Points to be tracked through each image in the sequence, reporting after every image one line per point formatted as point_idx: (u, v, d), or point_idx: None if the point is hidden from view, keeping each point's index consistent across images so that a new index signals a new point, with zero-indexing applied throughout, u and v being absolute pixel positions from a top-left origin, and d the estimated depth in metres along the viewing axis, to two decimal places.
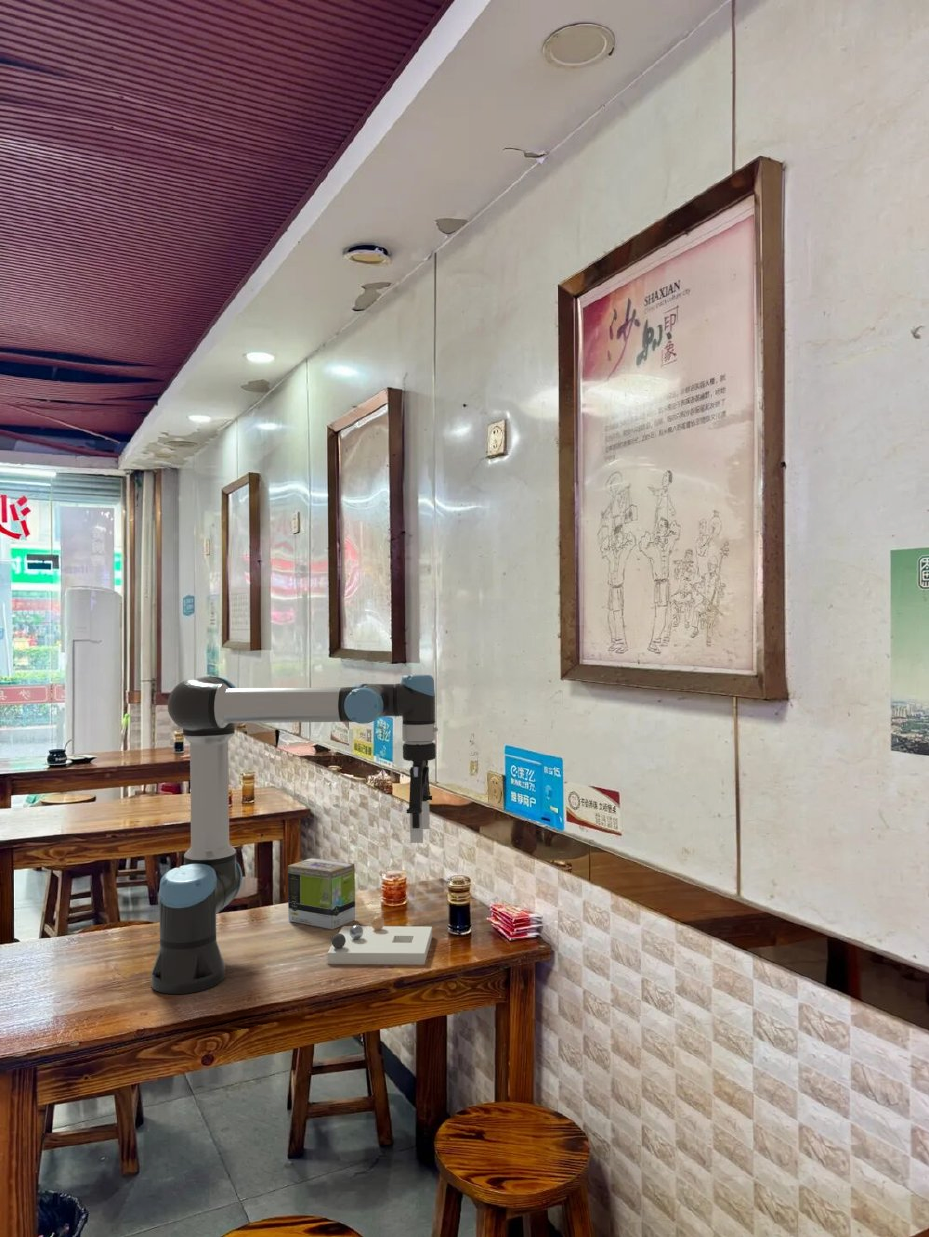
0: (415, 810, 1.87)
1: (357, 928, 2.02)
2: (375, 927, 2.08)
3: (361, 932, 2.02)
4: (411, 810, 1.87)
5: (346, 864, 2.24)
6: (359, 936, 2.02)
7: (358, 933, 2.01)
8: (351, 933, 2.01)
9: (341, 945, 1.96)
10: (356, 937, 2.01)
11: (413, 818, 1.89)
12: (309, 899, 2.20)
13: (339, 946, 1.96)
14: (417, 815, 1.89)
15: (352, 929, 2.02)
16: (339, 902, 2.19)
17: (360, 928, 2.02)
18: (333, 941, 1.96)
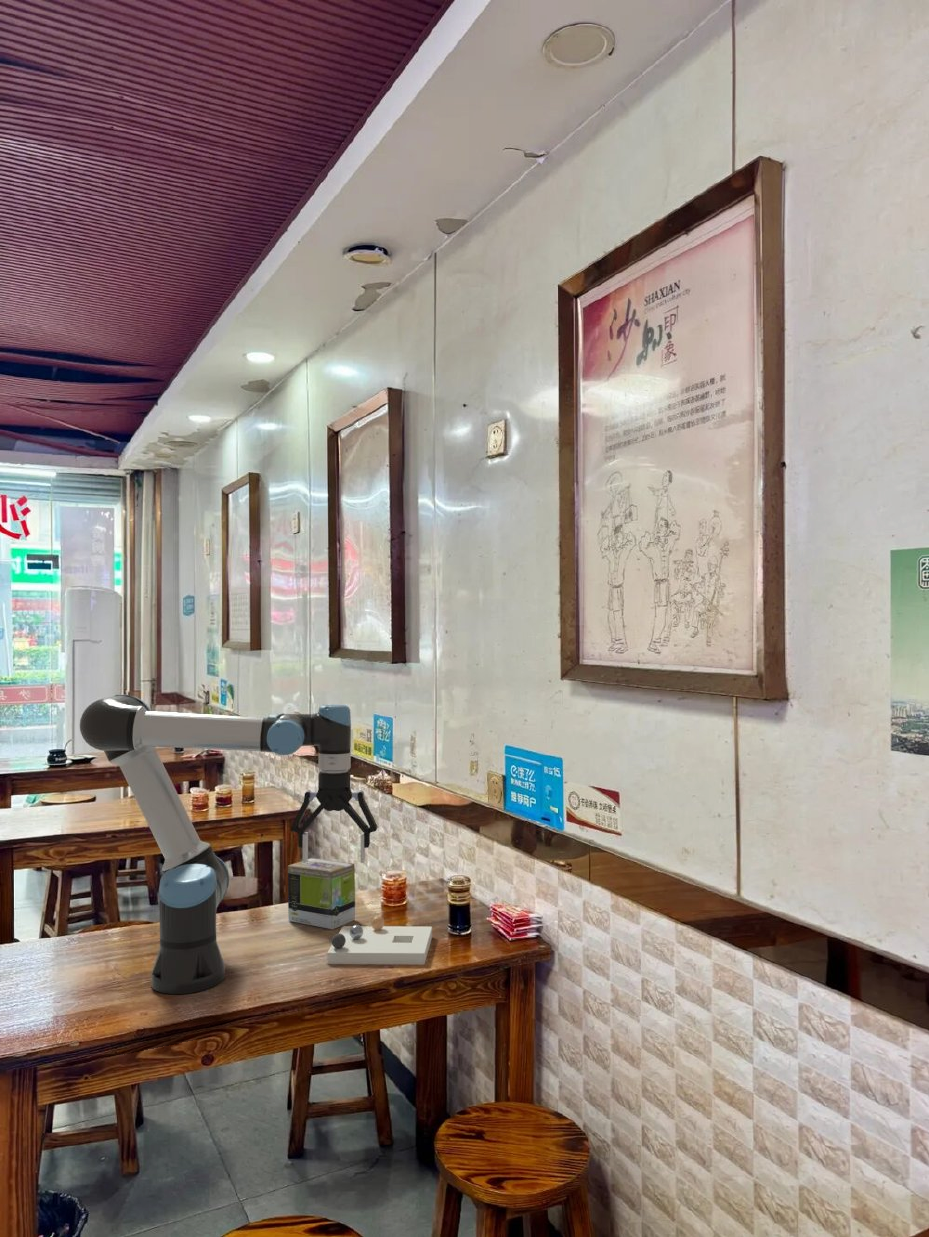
0: None
1: (357, 928, 2.02)
2: (375, 927, 2.08)
3: (361, 932, 2.02)
4: None
5: (346, 864, 2.24)
6: (359, 936, 2.02)
7: (358, 933, 2.01)
8: (351, 933, 2.01)
9: (341, 945, 1.96)
10: (356, 937, 2.01)
11: None
12: (309, 899, 2.20)
13: (339, 946, 1.96)
14: (298, 834, 2.03)
15: (352, 929, 2.02)
16: (339, 902, 2.19)
17: (360, 928, 2.02)
18: (333, 941, 1.96)
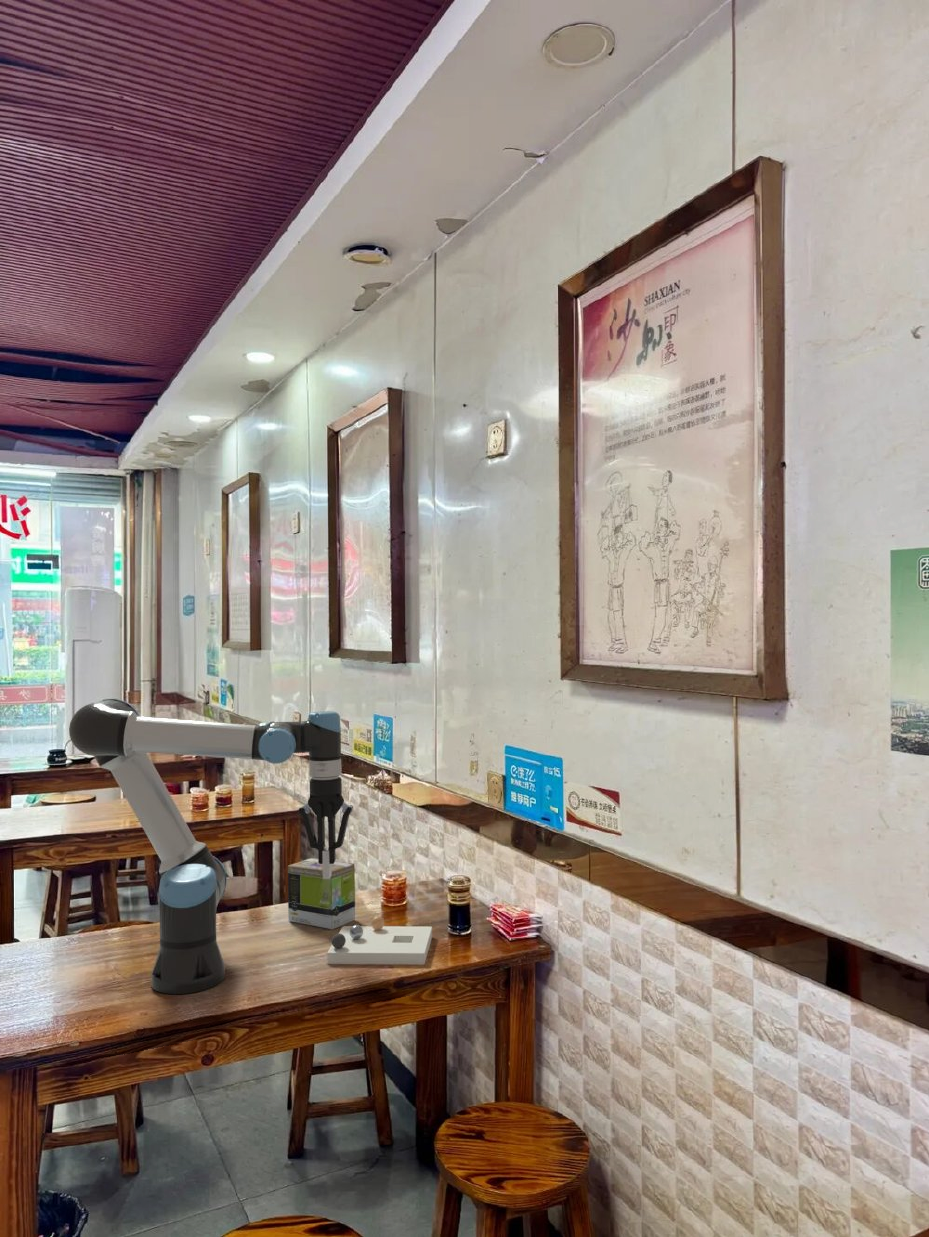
0: None
1: (357, 928, 2.02)
2: (375, 927, 2.08)
3: (361, 932, 2.02)
4: None
5: (346, 864, 2.24)
6: (359, 936, 2.02)
7: (358, 933, 2.01)
8: (351, 933, 2.01)
9: (341, 945, 1.96)
10: (356, 937, 2.01)
11: None
12: (309, 899, 2.20)
13: (339, 946, 1.96)
14: (318, 851, 2.03)
15: (352, 929, 2.02)
16: (339, 902, 2.19)
17: (360, 928, 2.02)
18: (333, 941, 1.96)
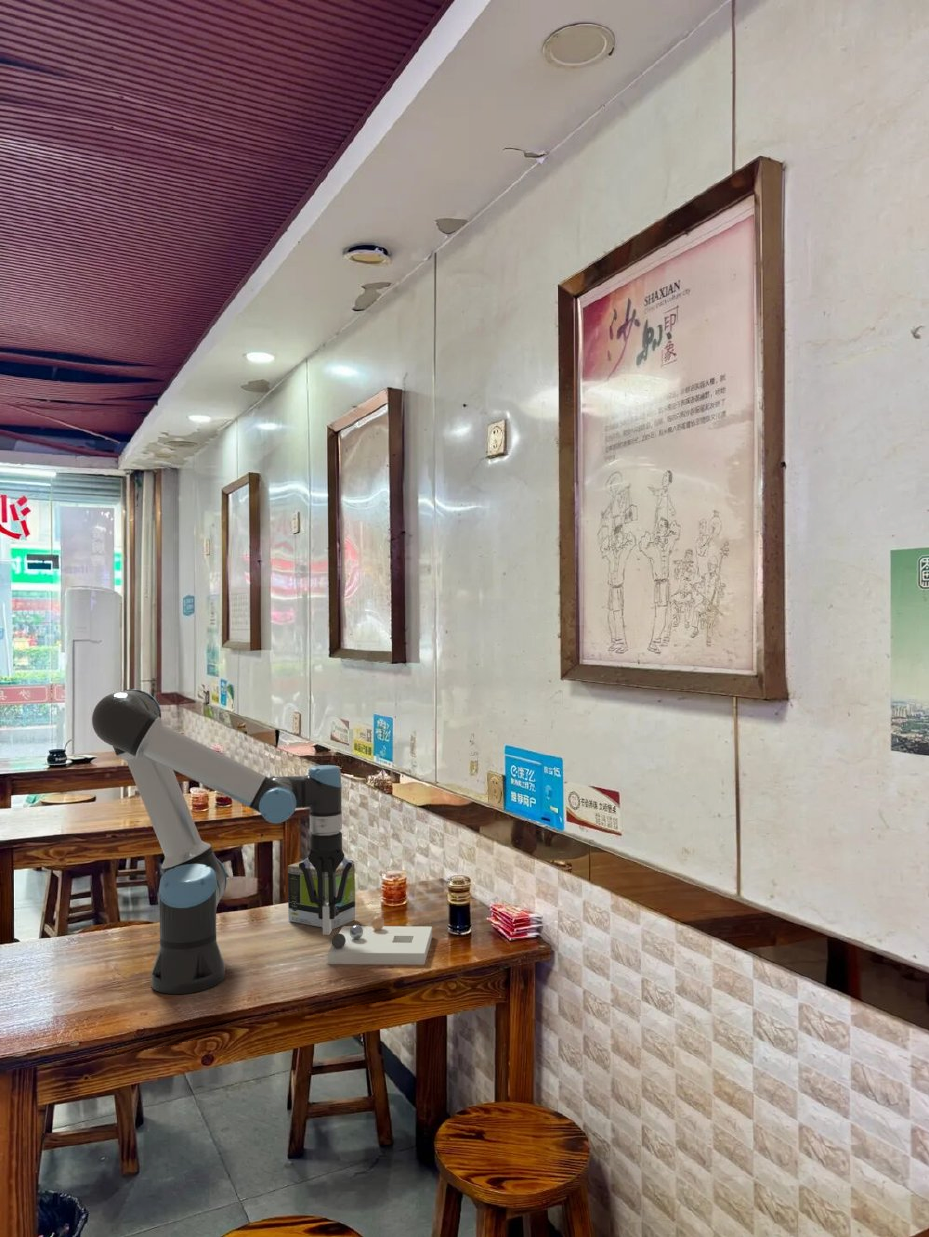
0: None
1: (357, 928, 2.02)
2: (375, 927, 2.08)
3: (361, 932, 2.02)
4: None
5: None
6: (359, 936, 2.02)
7: (358, 933, 2.01)
8: (351, 933, 2.01)
9: (341, 945, 1.96)
10: (356, 937, 2.01)
11: None
12: (309, 899, 2.20)
13: (339, 946, 1.96)
14: (318, 906, 2.03)
15: (352, 929, 2.02)
16: None
17: (360, 928, 2.02)
18: (333, 941, 1.96)
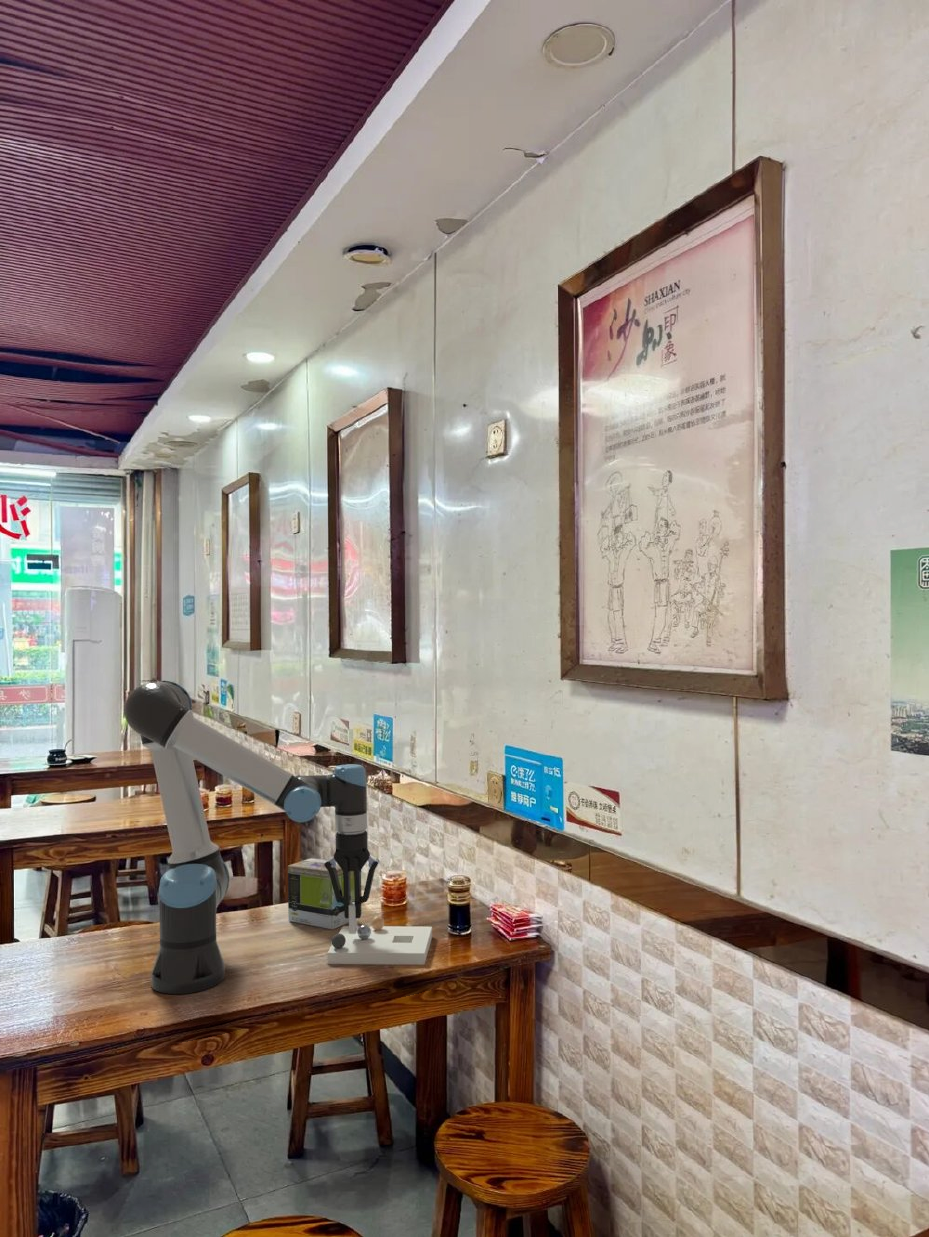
0: None
1: (368, 933, 2.01)
2: (375, 927, 2.08)
3: (366, 937, 2.02)
4: None
5: None
6: (362, 938, 2.01)
7: (365, 936, 2.01)
8: (361, 930, 2.01)
9: (341, 945, 1.96)
10: (360, 936, 2.01)
11: None
12: (309, 899, 2.20)
13: (339, 946, 1.96)
14: (344, 905, 2.03)
15: (365, 928, 2.02)
16: (339, 902, 2.19)
17: (369, 934, 2.02)
18: (333, 941, 1.96)
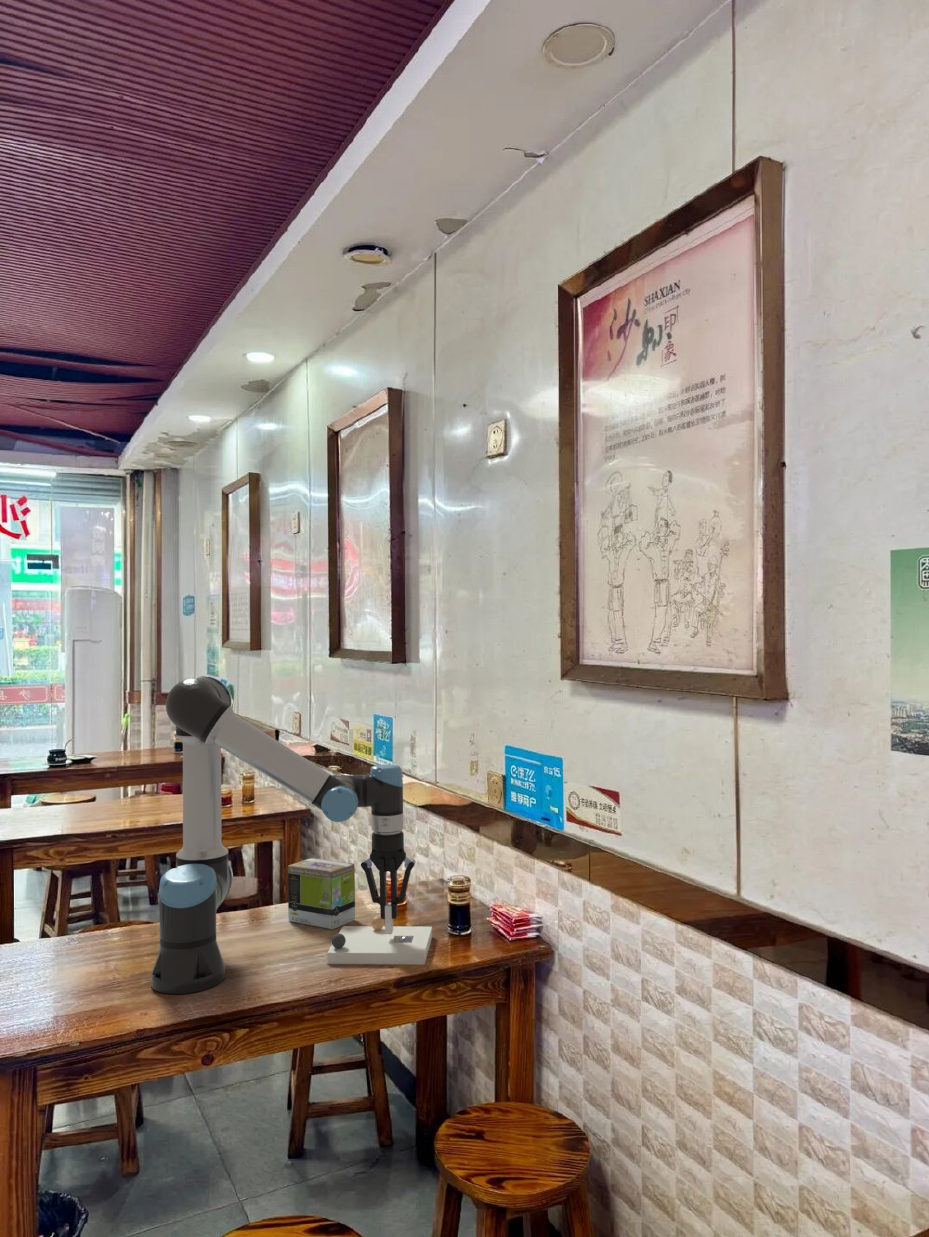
0: None
1: None
2: (375, 927, 2.08)
3: None
4: None
5: (346, 864, 2.24)
6: None
7: None
8: (405, 940, 2.01)
9: (341, 945, 1.96)
10: None
11: None
12: (309, 899, 2.20)
13: (339, 946, 1.96)
14: (380, 906, 2.02)
15: (409, 941, 2.01)
16: (339, 902, 2.19)
17: None
18: (333, 941, 1.96)
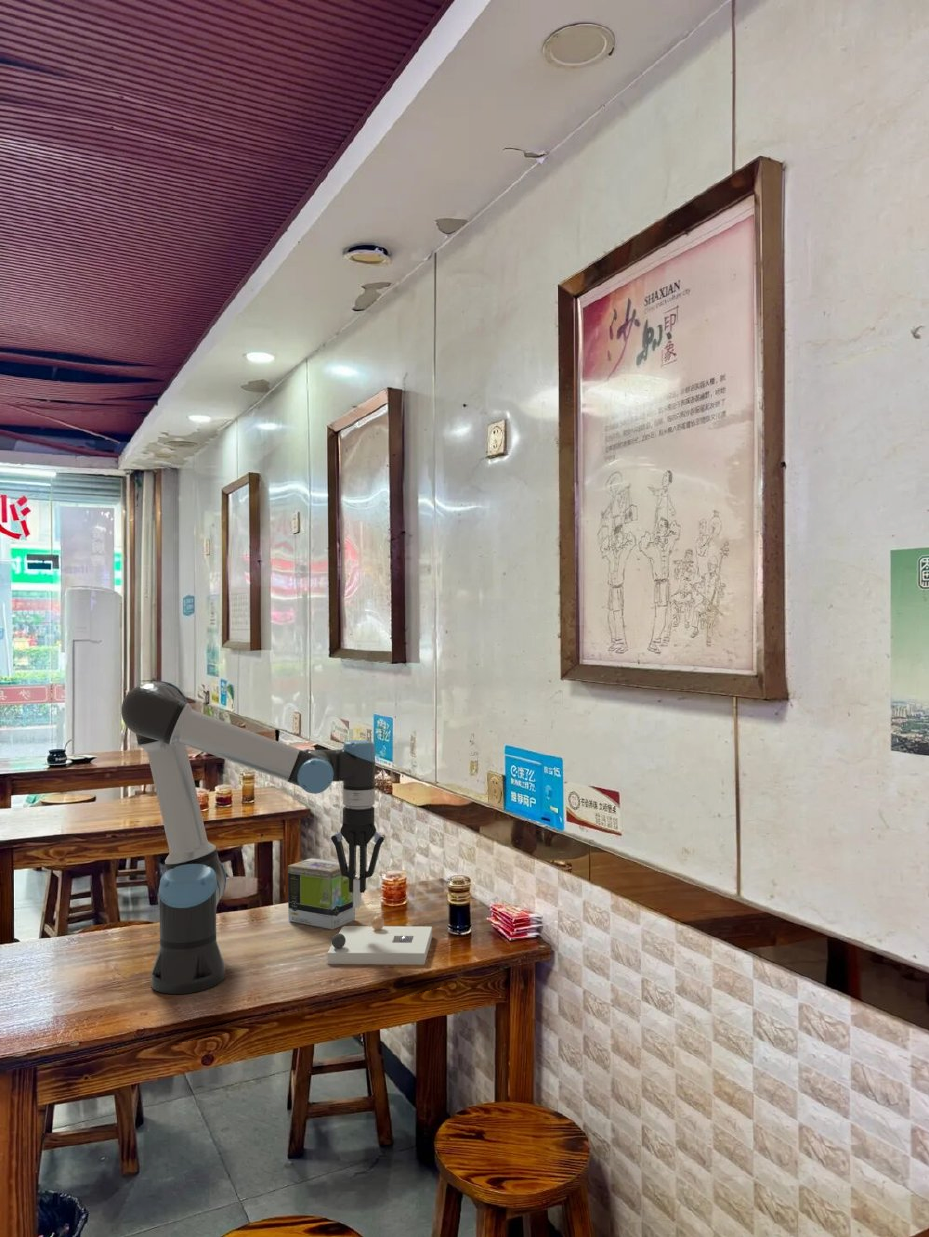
0: None
1: None
2: (375, 927, 2.08)
3: None
4: None
5: None
6: None
7: None
8: (405, 940, 2.01)
9: (341, 945, 1.96)
10: None
11: None
12: (309, 899, 2.20)
13: (339, 946, 1.96)
14: (349, 879, 2.04)
15: (409, 941, 2.01)
16: (339, 902, 2.19)
17: None
18: (333, 941, 1.96)
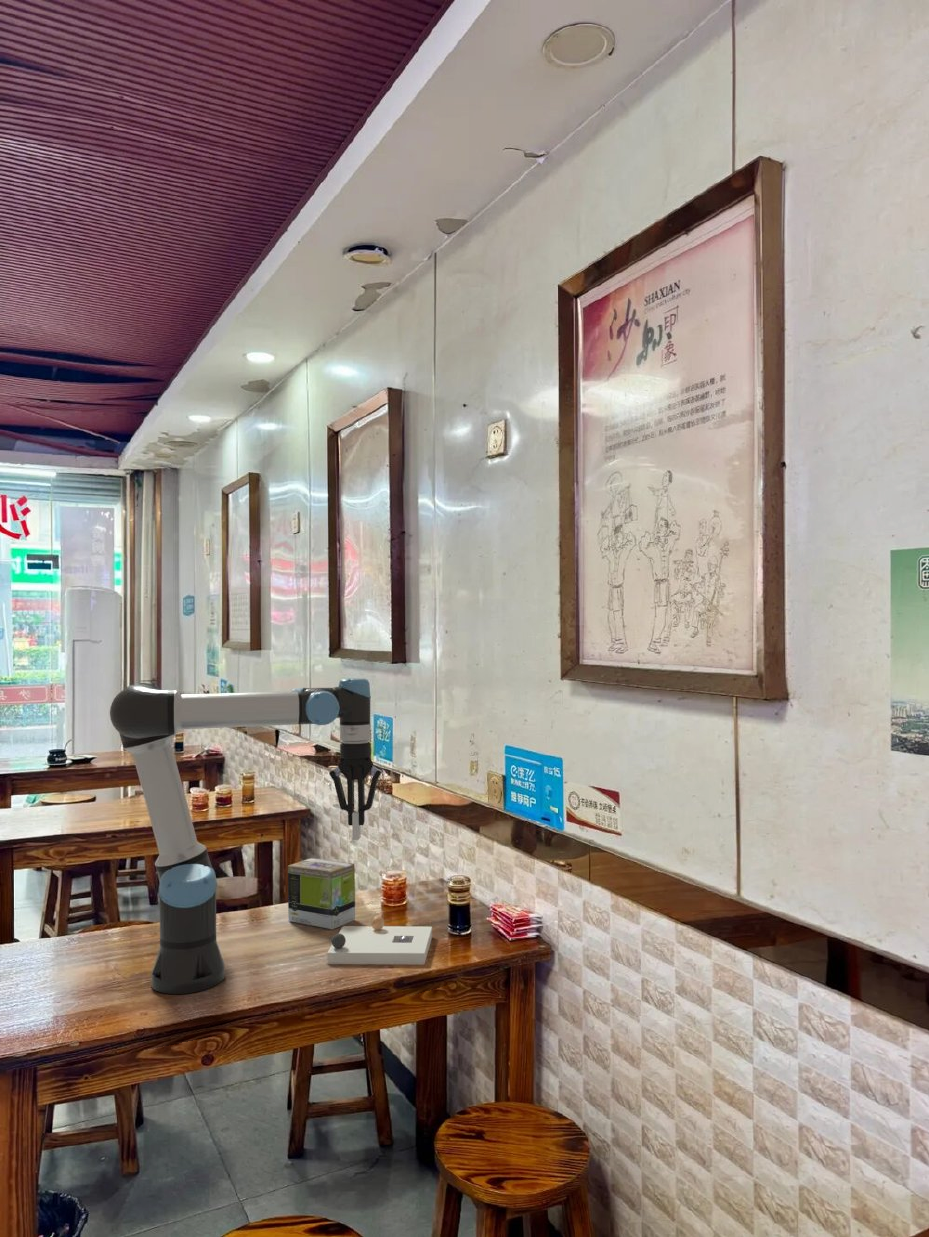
0: None
1: None
2: (375, 927, 2.08)
3: None
4: None
5: (346, 864, 2.24)
6: None
7: None
8: (404, 940, 2.01)
9: (341, 945, 1.96)
10: None
11: None
12: (309, 899, 2.20)
13: (339, 946, 1.96)
14: (348, 813, 2.10)
15: (408, 941, 2.01)
16: (339, 902, 2.19)
17: None
18: (333, 941, 1.96)
